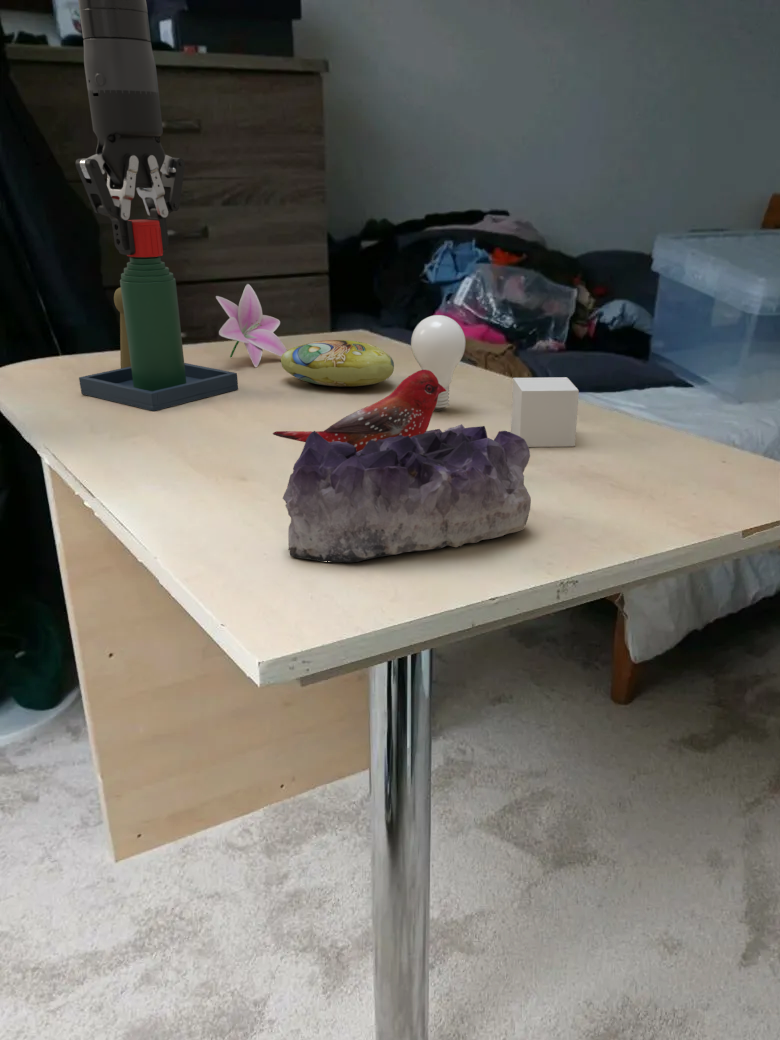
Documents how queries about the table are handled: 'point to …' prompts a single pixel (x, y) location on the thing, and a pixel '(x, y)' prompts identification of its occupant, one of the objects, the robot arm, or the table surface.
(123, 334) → the cork
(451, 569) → the table surface
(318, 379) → the painted stone
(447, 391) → the lightbulb
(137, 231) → the cap
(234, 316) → the lily
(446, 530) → the geode
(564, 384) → the white cube
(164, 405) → the tray
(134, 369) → the bottle
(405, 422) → the decorative bird figurine
